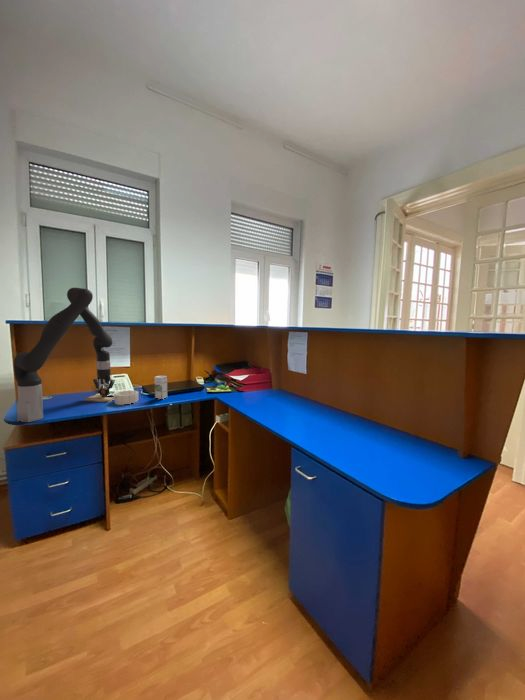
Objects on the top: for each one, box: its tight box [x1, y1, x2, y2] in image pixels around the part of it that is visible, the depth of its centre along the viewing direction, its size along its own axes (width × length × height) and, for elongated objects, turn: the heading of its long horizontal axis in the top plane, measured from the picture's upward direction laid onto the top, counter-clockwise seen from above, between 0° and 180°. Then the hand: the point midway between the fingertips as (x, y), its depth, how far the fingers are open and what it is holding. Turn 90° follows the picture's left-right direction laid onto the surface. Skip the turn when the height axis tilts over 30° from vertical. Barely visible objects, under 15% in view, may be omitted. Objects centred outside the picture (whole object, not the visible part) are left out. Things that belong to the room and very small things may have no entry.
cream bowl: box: [114, 389, 140, 406], centre depth 178 cm, size 13×13×6 cm
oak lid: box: [83, 387, 115, 403], centre depth 184 cm, size 16×16×6 cm
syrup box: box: [154, 375, 168, 400], centre depth 187 cm, size 6×6×14 cm
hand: (104, 394), depth 184 cm, fingers closed on oak lid, 3 cm apart
